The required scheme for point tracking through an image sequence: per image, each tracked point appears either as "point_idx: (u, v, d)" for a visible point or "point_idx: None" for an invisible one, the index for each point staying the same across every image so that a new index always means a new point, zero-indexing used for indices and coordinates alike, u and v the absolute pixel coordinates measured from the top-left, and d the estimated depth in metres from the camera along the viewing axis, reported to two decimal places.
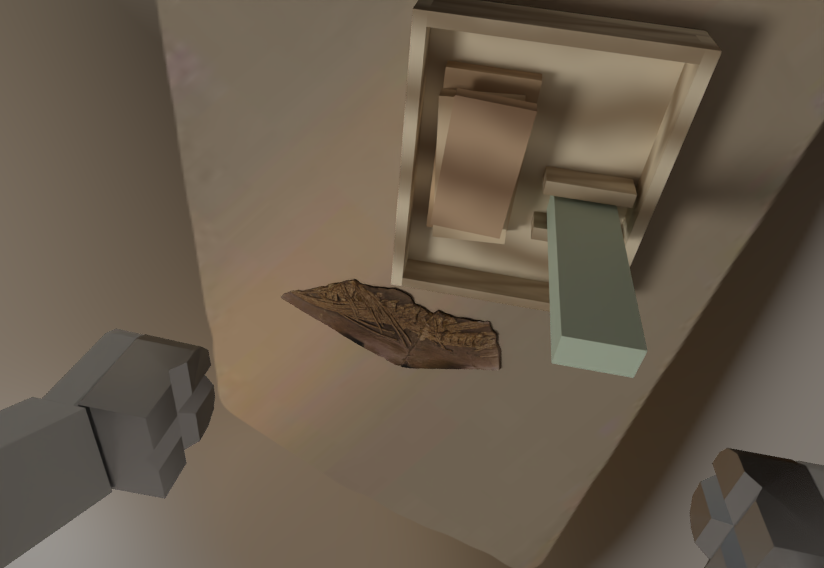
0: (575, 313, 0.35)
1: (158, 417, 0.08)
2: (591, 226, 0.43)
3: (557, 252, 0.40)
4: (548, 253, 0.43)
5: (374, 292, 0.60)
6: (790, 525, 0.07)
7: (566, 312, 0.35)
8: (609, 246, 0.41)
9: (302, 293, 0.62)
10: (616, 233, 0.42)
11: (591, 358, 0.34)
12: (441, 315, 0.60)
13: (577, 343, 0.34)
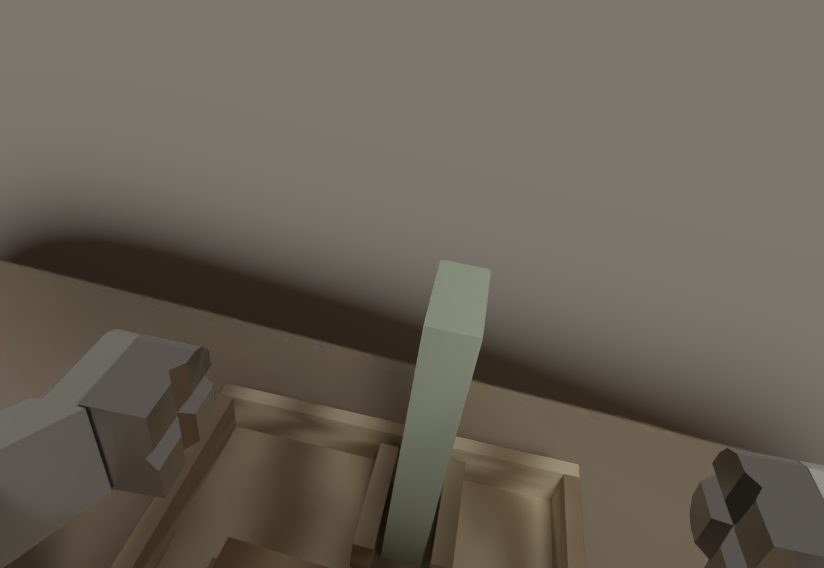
0: None
1: (158, 417, 0.08)
2: None
3: (400, 456, 0.28)
4: (435, 501, 0.29)
5: None
6: (790, 525, 0.07)
7: None
8: None
9: None
10: None
11: (463, 301, 0.24)
12: None
13: (435, 312, 0.23)
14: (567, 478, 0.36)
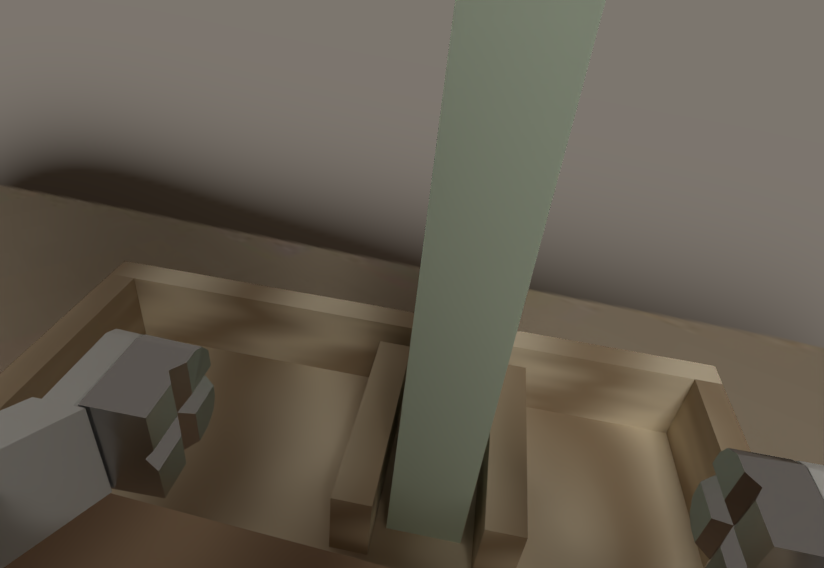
0: None
1: (158, 417, 0.08)
2: None
3: (419, 284, 0.13)
4: (494, 394, 0.14)
5: None
6: (790, 525, 0.07)
7: None
8: None
9: None
10: None
11: None
12: None
13: None
14: (703, 385, 0.21)
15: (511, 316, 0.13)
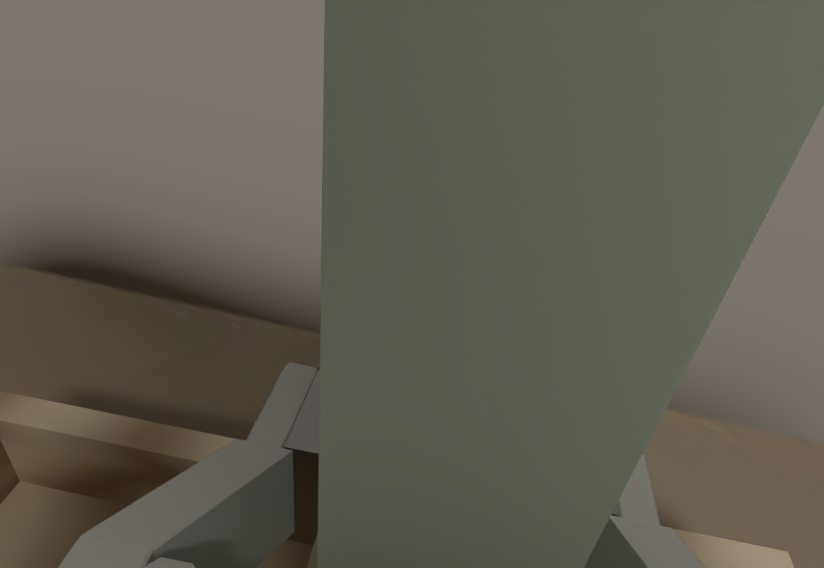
0: None
1: None
2: None
3: None
4: None
5: None
6: None
7: None
8: None
9: None
10: None
11: None
12: None
13: None
14: None
15: None
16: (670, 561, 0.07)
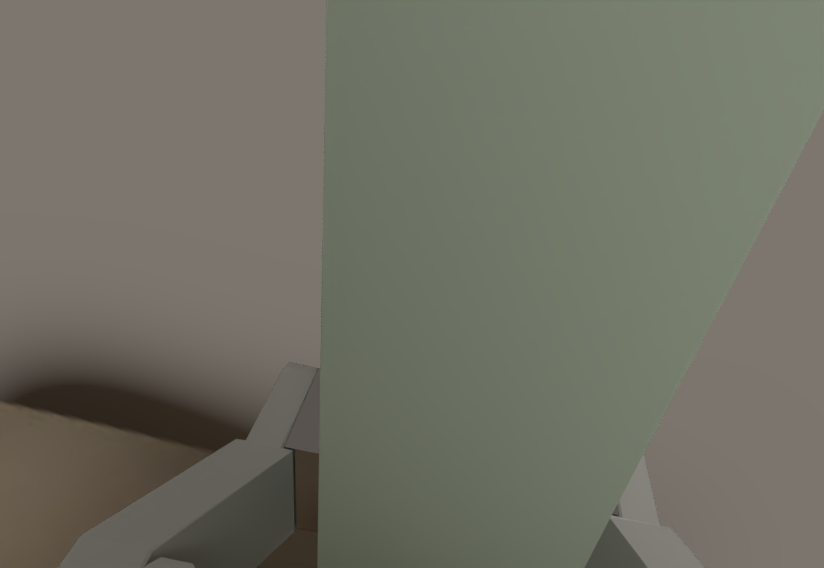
0: None
1: None
2: None
3: None
4: None
5: None
6: None
7: None
8: None
9: None
10: None
11: None
12: None
13: None
14: None
15: None
16: (670, 561, 0.07)
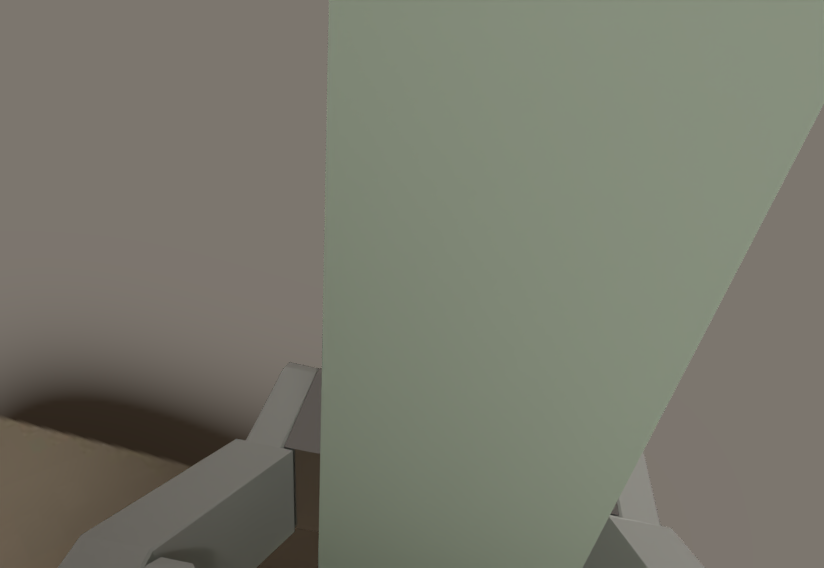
0: None
1: None
2: None
3: None
4: None
5: None
6: None
7: None
8: None
9: None
10: None
11: None
12: None
13: None
14: None
15: None
16: (670, 561, 0.07)
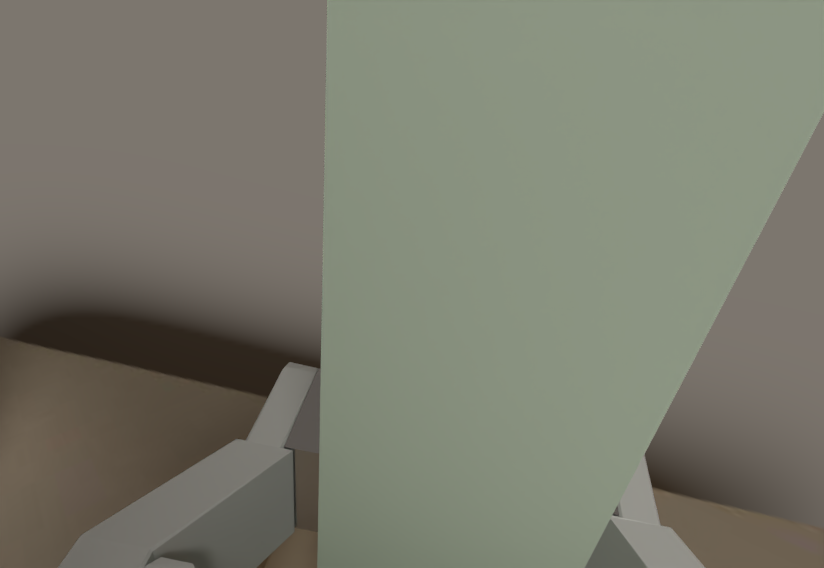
0: None
1: None
2: None
3: None
4: None
5: None
6: None
7: None
8: None
9: None
10: None
11: None
12: None
13: None
14: None
15: None
16: (670, 561, 0.07)
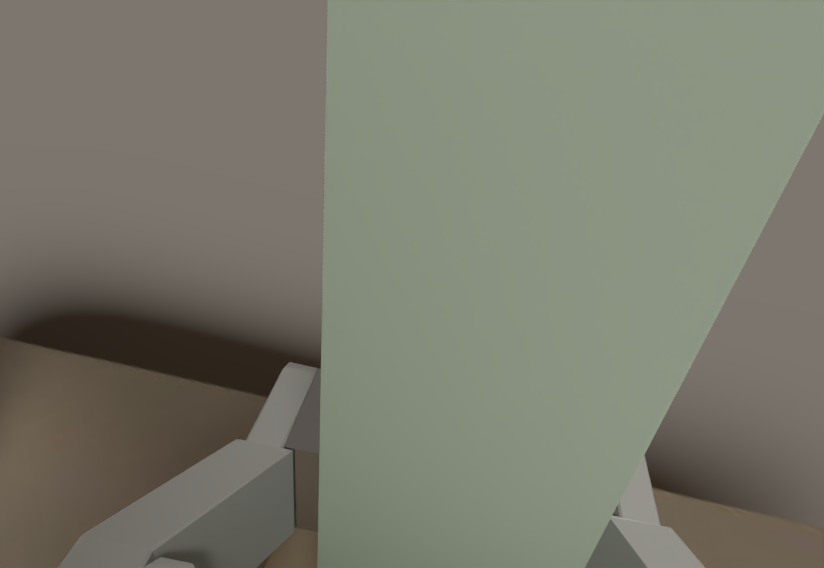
0: None
1: None
2: None
3: None
4: None
5: None
6: None
7: None
8: None
9: None
10: None
11: None
12: None
13: None
14: None
15: None
16: (670, 561, 0.07)
